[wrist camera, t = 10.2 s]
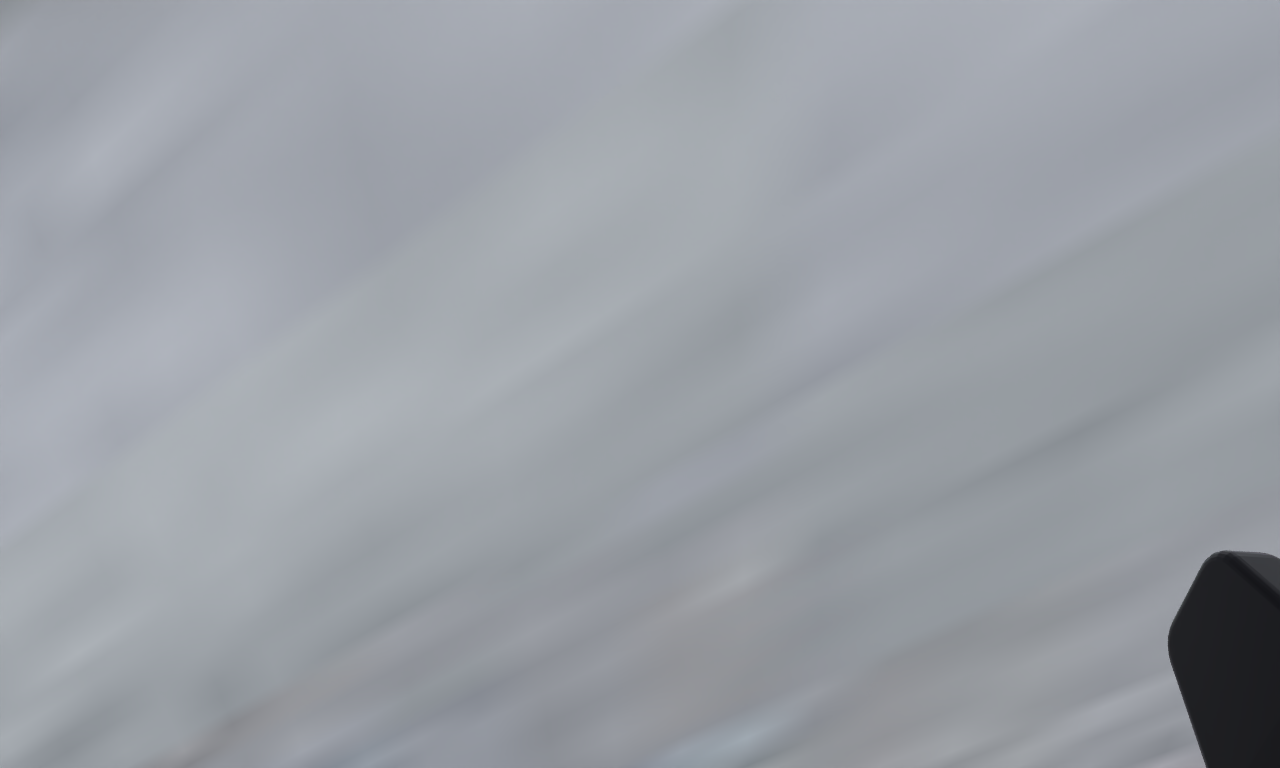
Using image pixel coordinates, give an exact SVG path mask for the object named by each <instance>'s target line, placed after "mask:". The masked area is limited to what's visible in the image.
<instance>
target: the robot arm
mask: <svg viewBox="0 0 1280 768" xmlns="http://www.w3.org/2000/svg"><path fill="white" fill-rule="evenodd" d="M1168 651H1169V658H1170V662H1171V665H1172V668H1173V671H1174V674H1175V677H1176V679H1177V682H1178V685H1179V688H1180V691H1181V694H1182V697H1183V700H1184V703H1185V706H1186V709H1187V712H1188V715H1189V718H1190V721H1191V724H1192V727H1193V730H1194V733H1195V736H1196V738H1197V741H1198V744H1199V747H1200V750H1201V753H1202V756H1203V759H1204V762H1205V765H1206V768H1280V559H1279V558H1277V557H1275V556H1273V555H1270V554H1266V553H1259V552H1242V551H1226V550H1225V551H1220V552H1216V553H1214V554H1212V555H1211V556H1210V557H1209V558H1207V559H1206V560H1205V562H1204V563H1203V565H1202V566H1201V568H1200V570H1199V572H1198V574H1197V576H1196V578H1195V580H1194V582H1193V584H1192V585H1191V587H1190V589H1189V591H1188V593H1187V595H1186V597H1185V599H1184V601H1183V603H1182V605H1181V607H1180V609H1179V611H1178V612H1177V614H1176V616H1175V618H1174V620H1173V622H1172V625H1171V627H1170V631H1169V635H1168Z"/></svg>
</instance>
